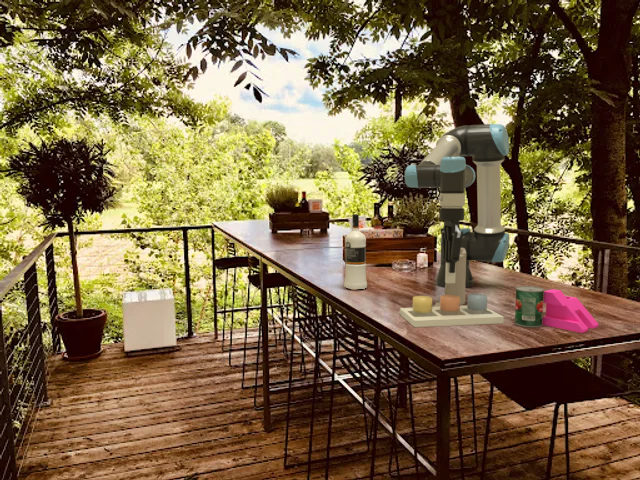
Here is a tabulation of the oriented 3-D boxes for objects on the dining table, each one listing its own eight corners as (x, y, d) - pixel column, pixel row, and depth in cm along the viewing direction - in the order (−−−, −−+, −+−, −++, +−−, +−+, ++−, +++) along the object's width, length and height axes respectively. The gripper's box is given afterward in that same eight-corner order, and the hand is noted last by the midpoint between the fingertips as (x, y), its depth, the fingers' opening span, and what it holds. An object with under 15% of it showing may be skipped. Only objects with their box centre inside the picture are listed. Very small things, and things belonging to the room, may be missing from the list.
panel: (399, 314, 178) (399, 308, 178) (481, 310, 182) (481, 304, 182) (414, 327, 162) (414, 320, 162) (503, 323, 166) (503, 316, 166)
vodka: (371, 289, 218) (371, 214, 214) (351, 291, 213) (351, 215, 210) (359, 285, 226) (359, 213, 222) (340, 287, 222) (339, 214, 218)
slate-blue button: (464, 306, 175) (464, 294, 175) (482, 305, 176) (482, 293, 176) (472, 310, 170) (472, 298, 169) (490, 309, 170) (490, 297, 170)
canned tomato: (510, 321, 169) (511, 286, 167) (535, 320, 169) (536, 285, 168) (521, 328, 161) (522, 291, 160) (547, 327, 161) (548, 290, 160)
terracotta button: (437, 307, 174) (437, 295, 174) (455, 306, 175) (455, 294, 175) (444, 311, 168) (444, 299, 168) (462, 311, 169) (463, 298, 169)
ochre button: (410, 308, 173) (410, 296, 173) (428, 307, 174) (428, 295, 173) (416, 313, 167) (416, 300, 167) (434, 312, 168) (435, 299, 168)
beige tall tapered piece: (428, 305, 190) (429, 248, 188) (452, 299, 199) (453, 245, 197) (445, 309, 185) (446, 250, 182) (469, 302, 193) (470, 246, 191)
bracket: (542, 325, 164) (543, 291, 163) (559, 319, 171) (560, 286, 170) (582, 333, 155) (584, 298, 154) (598, 326, 162) (600, 292, 161)
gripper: (433, 206, 174) (431, 279, 176) (448, 208, 161) (446, 287, 164) (455, 206, 175) (453, 278, 177) (472, 208, 162) (470, 286, 165)
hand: (450, 282), depth 171 cm, fingers closed
